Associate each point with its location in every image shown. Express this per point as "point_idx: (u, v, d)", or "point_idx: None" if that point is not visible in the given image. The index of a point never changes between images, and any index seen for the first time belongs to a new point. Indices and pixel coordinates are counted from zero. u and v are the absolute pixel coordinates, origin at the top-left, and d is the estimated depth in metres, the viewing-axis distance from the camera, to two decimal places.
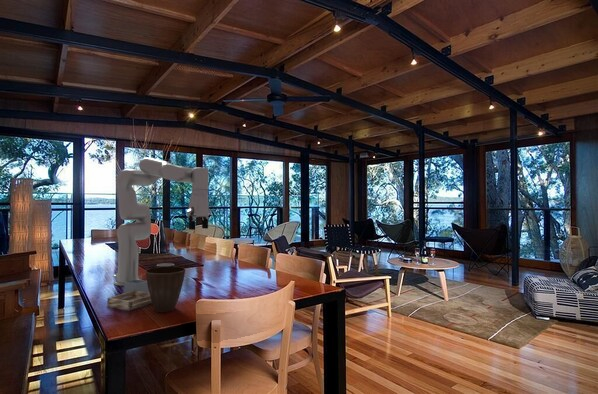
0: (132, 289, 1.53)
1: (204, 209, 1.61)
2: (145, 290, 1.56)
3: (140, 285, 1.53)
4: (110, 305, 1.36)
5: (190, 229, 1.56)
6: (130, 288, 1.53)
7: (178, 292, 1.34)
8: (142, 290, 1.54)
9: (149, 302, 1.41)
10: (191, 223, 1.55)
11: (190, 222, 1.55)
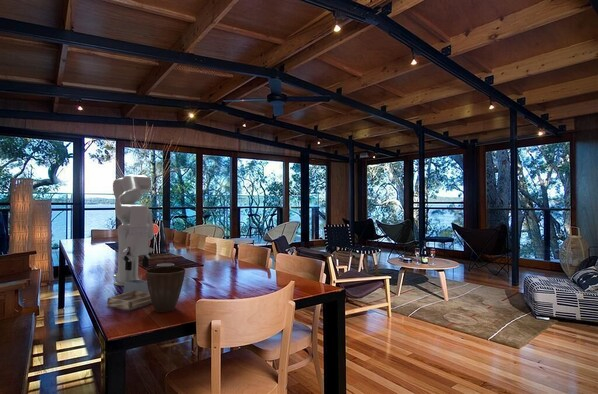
0: (132, 289, 1.53)
1: (143, 248, 1.56)
2: (145, 290, 1.56)
3: (140, 285, 1.53)
4: (110, 305, 1.36)
5: (126, 270, 1.51)
6: (130, 288, 1.53)
7: (178, 292, 1.34)
8: (142, 290, 1.54)
9: (149, 302, 1.41)
10: (127, 264, 1.50)
11: (126, 263, 1.50)
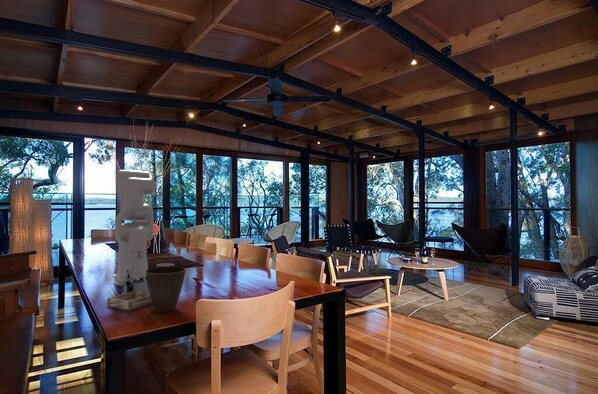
0: None
1: (142, 270, 1.56)
2: (145, 290, 1.56)
3: (140, 285, 1.53)
4: (110, 305, 1.36)
5: None
6: None
7: (178, 292, 1.34)
8: (142, 290, 1.54)
9: (149, 302, 1.41)
10: (129, 288, 1.52)
11: (127, 288, 1.52)
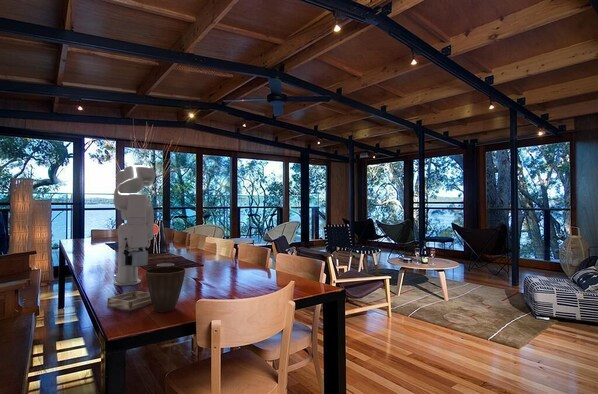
0: None
1: (141, 239, 1.45)
2: (145, 260, 1.44)
3: (139, 254, 1.42)
4: (110, 305, 1.36)
5: (126, 264, 1.41)
6: None
7: (178, 292, 1.34)
8: (142, 260, 1.43)
9: (149, 302, 1.41)
10: (127, 258, 1.40)
11: (126, 257, 1.40)
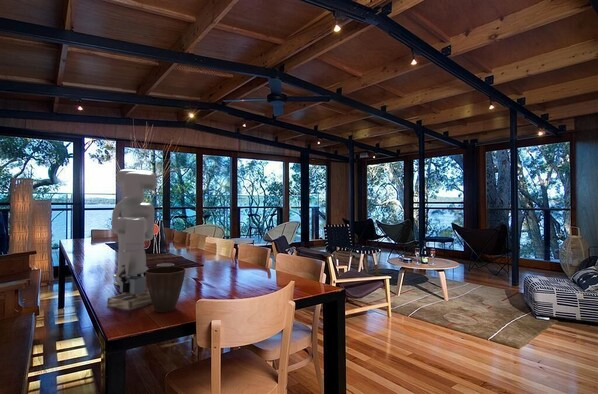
0: None
1: (139, 266, 1.41)
2: (143, 287, 1.41)
3: (137, 281, 1.38)
4: (110, 305, 1.36)
5: None
6: None
7: (178, 292, 1.34)
8: (140, 287, 1.39)
9: (149, 302, 1.41)
10: (125, 285, 1.37)
11: (123, 285, 1.37)
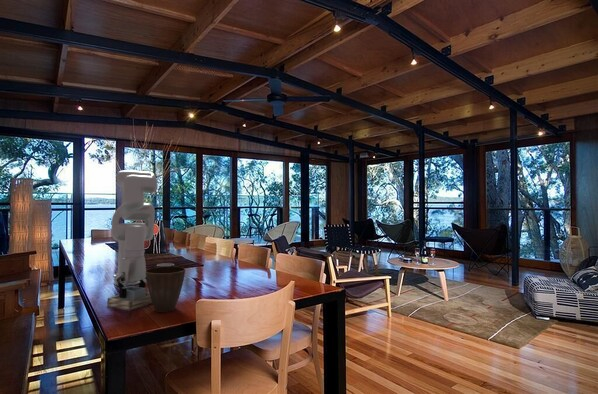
0: (128, 297, 1.38)
1: (139, 272, 1.41)
2: None
3: (137, 293, 1.38)
4: (110, 305, 1.36)
5: (120, 297, 1.36)
6: (126, 296, 1.38)
7: (178, 292, 1.34)
8: (139, 298, 1.39)
9: (149, 302, 1.41)
10: (121, 291, 1.35)
11: (120, 290, 1.35)
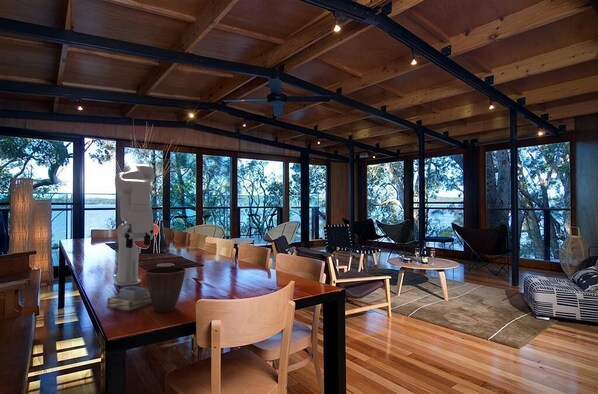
0: (128, 297, 1.38)
1: (144, 225, 1.50)
2: None
3: (137, 293, 1.38)
4: (110, 305, 1.36)
5: (127, 247, 1.45)
6: (126, 296, 1.38)
7: (178, 292, 1.34)
8: (139, 298, 1.39)
9: (149, 302, 1.41)
10: (128, 241, 1.44)
11: (126, 240, 1.44)
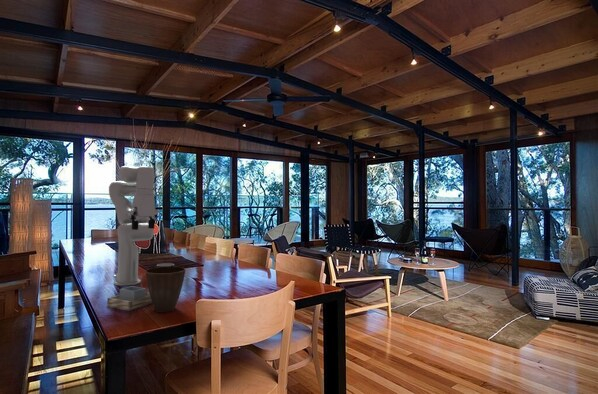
0: (128, 297, 1.38)
1: (149, 209, 1.58)
2: None
3: (137, 293, 1.38)
4: (110, 305, 1.36)
5: (133, 229, 1.53)
6: (126, 296, 1.38)
7: (178, 292, 1.34)
8: (139, 298, 1.39)
9: (149, 302, 1.41)
10: (134, 223, 1.53)
11: (132, 222, 1.53)
